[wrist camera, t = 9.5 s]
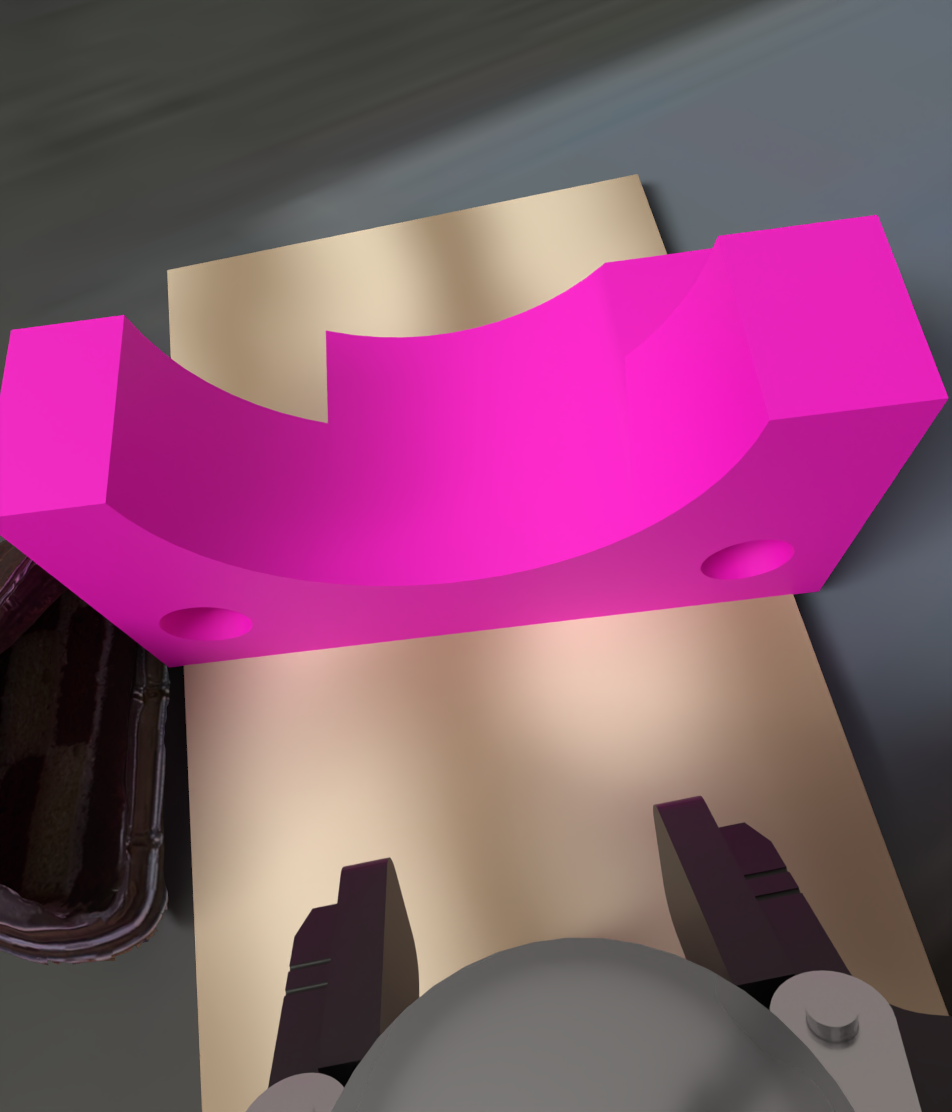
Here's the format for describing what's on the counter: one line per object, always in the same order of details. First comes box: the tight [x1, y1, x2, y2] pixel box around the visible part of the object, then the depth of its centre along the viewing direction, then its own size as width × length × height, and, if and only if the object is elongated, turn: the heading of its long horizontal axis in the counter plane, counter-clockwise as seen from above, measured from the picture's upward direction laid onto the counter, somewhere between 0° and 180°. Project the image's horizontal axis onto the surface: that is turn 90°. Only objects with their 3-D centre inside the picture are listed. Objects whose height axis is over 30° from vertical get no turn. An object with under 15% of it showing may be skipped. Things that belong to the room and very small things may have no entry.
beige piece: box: [167, 174, 949, 1112], centre depth 16 cm, size 14×24×13 cm, turn 11°
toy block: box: [0, 215, 948, 667], centre depth 18 cm, size 15×6×8 cm, turn 95°
